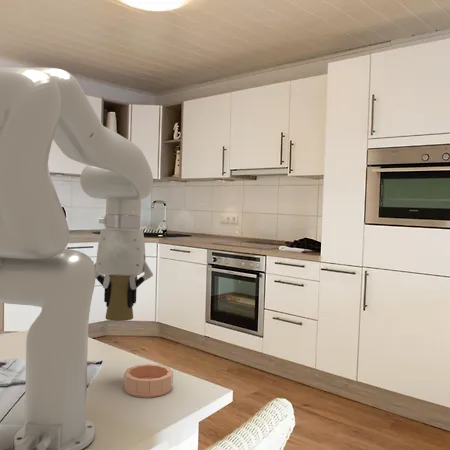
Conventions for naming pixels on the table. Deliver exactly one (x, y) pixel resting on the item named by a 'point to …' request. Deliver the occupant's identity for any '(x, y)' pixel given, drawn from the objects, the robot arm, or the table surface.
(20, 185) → the robot arm
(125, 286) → the cork
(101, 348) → the table surface
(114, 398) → the table surface
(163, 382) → the copper faceted bowl
